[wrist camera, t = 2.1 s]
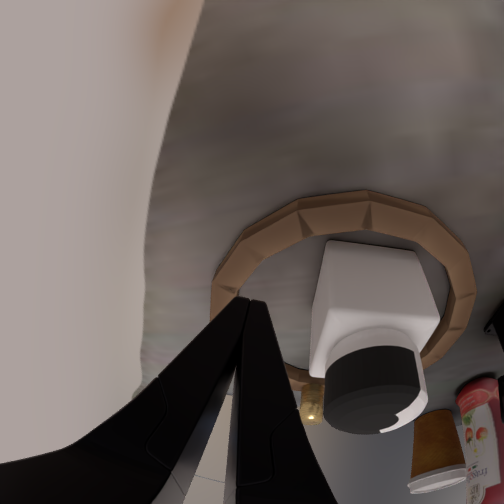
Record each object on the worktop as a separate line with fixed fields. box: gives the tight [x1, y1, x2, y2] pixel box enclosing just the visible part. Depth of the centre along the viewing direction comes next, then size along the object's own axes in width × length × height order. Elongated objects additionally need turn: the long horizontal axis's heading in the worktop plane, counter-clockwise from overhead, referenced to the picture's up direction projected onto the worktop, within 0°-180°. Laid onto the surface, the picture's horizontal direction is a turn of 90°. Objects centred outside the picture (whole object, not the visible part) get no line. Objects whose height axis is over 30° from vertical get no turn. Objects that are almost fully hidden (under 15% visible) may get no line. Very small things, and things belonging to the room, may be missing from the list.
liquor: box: [456, 377, 504, 504], centre depth 19 cm, size 7×7×28 cm
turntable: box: [210, 190, 477, 425], centre depth 24 cm, size 23×23×6 cm
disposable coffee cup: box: [407, 410, 466, 494], centre depth 32 cm, size 10×10×12 cm
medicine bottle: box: [309, 240, 440, 434], centre depth 19 cm, size 7×7×12 cm
